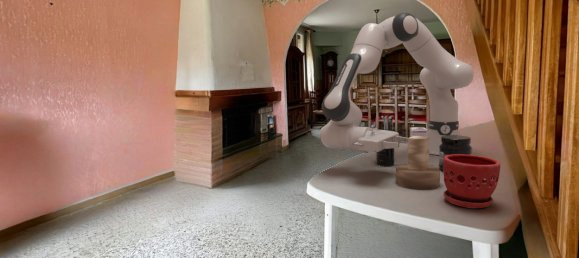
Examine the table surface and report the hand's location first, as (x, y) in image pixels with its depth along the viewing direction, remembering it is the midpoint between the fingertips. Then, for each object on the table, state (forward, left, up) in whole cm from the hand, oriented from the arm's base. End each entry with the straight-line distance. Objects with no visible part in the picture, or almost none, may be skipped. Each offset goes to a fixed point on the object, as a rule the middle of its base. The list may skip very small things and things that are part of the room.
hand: (403, 143), depth 109 cm
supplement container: (-17, +18, -13) cm, 28 cm away
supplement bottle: (-21, -6, -13) cm, 26 cm away
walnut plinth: (+1, +4, -13) cm, 14 cm away
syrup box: (-21, +6, -13) cm, 26 cm away
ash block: (+1, +4, -8) cm, 9 cm away
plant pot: (+17, +16, -13) cm, 26 cm away
